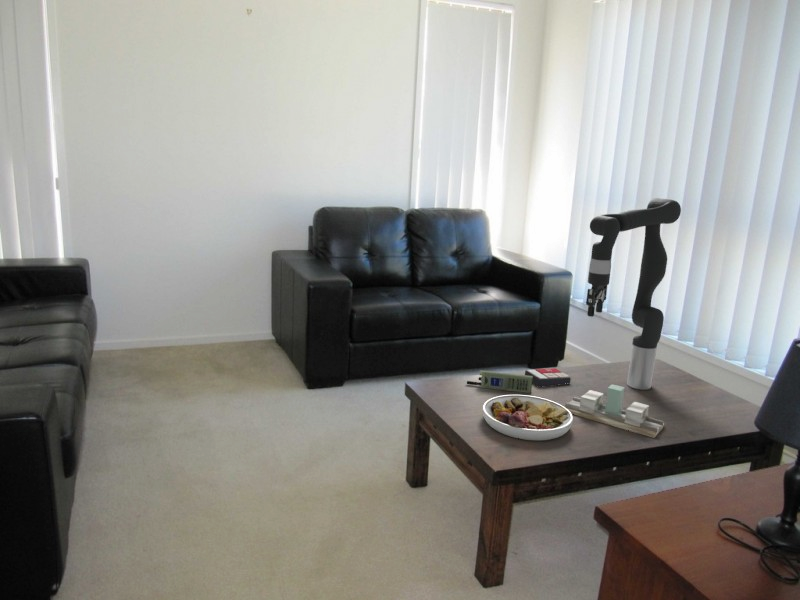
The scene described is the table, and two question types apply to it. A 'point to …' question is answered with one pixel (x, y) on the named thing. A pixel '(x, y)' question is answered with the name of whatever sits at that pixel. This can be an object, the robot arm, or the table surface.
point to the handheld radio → (504, 381)
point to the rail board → (628, 419)
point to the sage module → (614, 400)
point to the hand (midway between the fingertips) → (594, 314)
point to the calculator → (548, 377)
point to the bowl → (527, 417)
